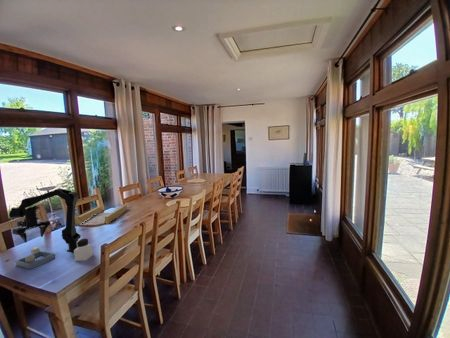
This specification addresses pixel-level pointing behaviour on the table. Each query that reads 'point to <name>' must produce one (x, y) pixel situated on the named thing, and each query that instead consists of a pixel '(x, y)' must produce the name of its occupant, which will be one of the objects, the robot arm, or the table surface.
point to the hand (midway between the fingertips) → (34, 239)
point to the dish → (37, 262)
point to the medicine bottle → (83, 250)
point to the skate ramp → (98, 209)
